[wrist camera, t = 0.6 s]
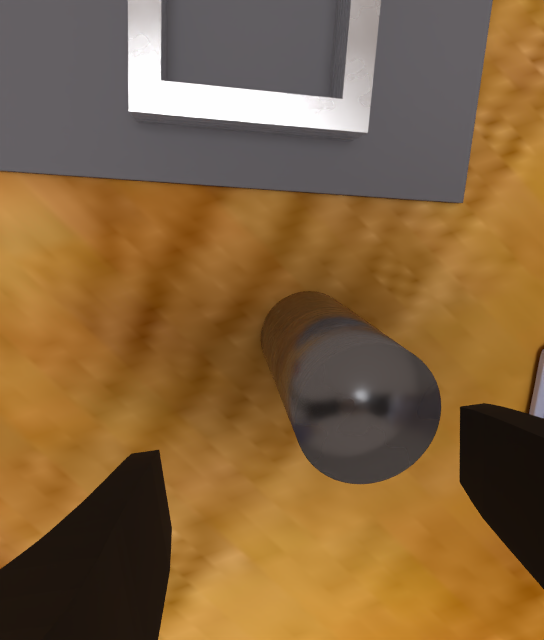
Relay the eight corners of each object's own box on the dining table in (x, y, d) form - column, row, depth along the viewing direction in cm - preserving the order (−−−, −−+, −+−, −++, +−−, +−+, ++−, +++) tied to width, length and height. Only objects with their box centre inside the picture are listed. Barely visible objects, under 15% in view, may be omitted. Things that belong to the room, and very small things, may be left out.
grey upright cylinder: (356, 293, 20) (450, 345, 12) (347, 381, 21) (430, 482, 13) (263, 289, 19) (301, 342, 12) (258, 380, 20) (289, 485, 12)
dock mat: (506, -137, 17) (513, -145, 17) (457, 203, 20) (462, 202, 19) (-29, -237, 14) (-36, -250, 14) (-2, 170, 17) (-7, 169, 17)
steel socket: (373, -102, 16) (395, -144, 14) (350, 141, 18) (367, 133, 16) (136, -141, 15) (126, -193, 13) (137, 122, 17) (128, 111, 15)
